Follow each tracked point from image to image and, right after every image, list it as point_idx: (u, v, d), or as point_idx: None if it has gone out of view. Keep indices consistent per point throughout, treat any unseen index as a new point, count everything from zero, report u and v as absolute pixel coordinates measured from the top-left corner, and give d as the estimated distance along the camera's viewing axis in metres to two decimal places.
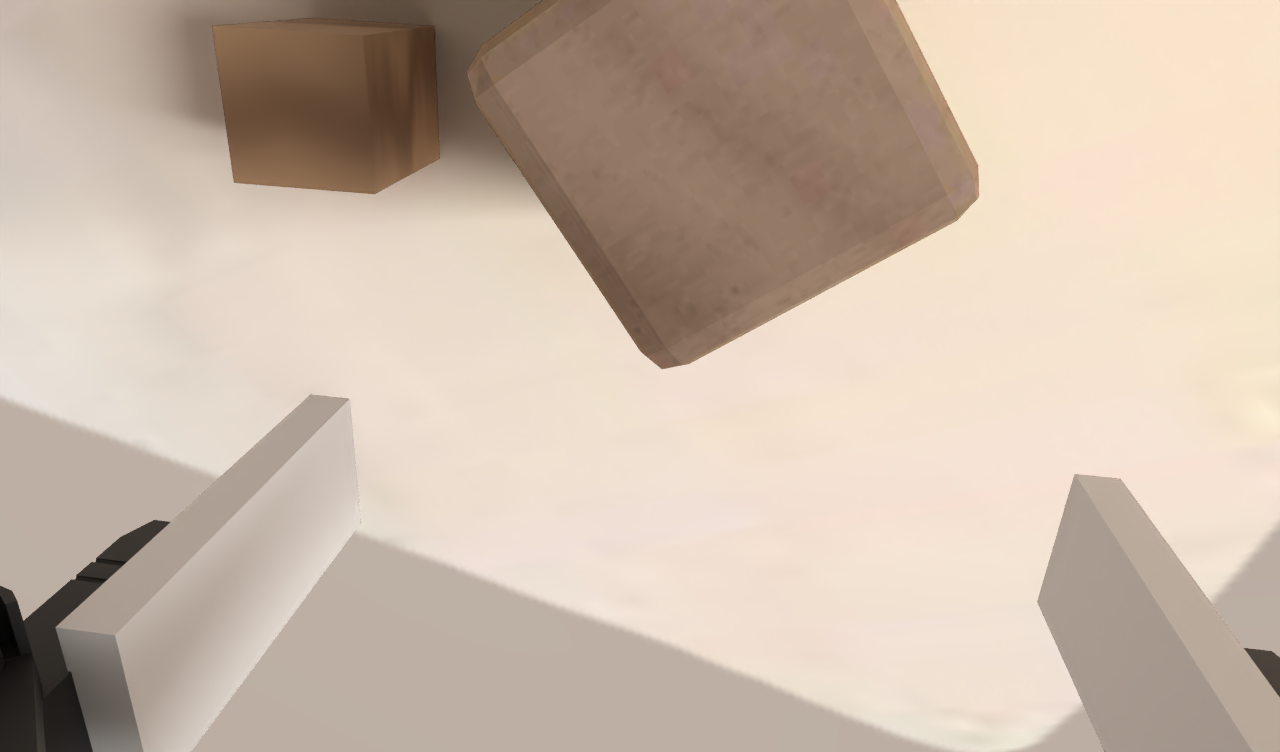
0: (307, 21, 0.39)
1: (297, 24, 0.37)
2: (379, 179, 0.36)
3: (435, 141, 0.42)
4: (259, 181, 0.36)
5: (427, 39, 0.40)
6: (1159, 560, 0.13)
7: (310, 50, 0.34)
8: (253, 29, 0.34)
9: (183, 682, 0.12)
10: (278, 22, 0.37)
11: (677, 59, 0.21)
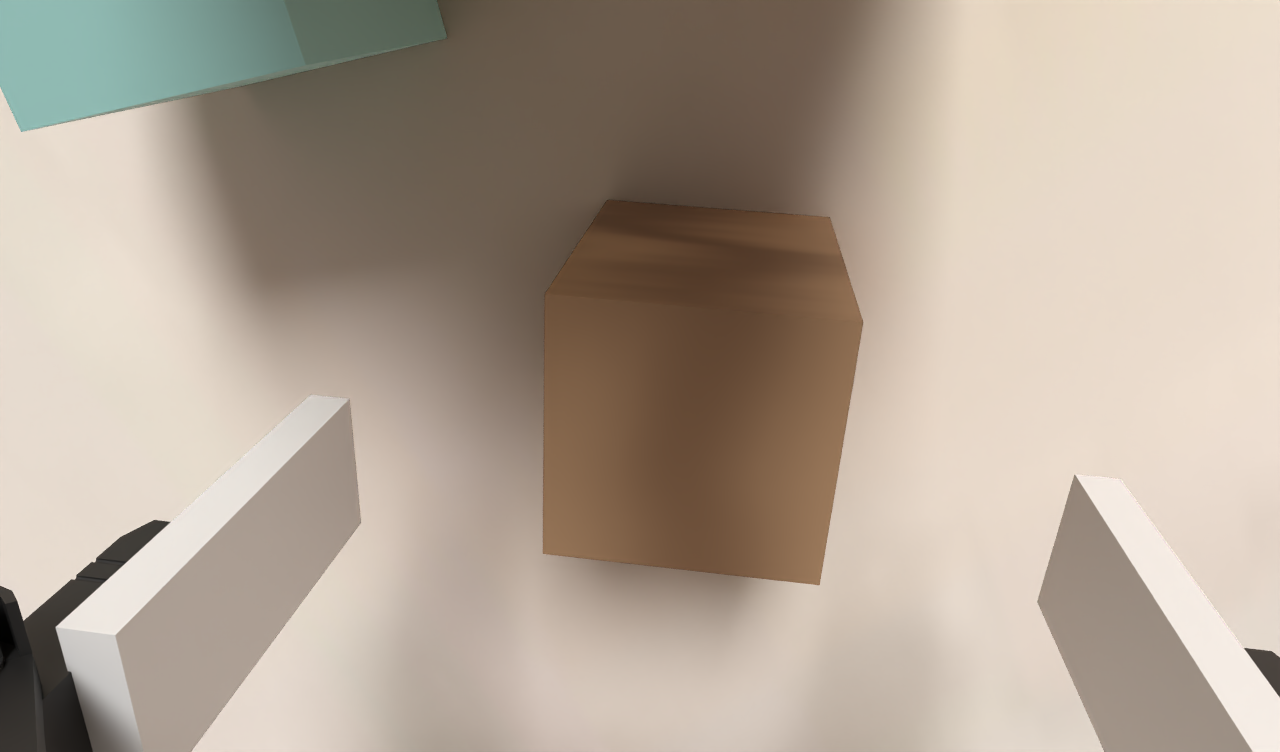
0: None
1: None
2: (834, 309, 0.17)
3: (797, 218, 0.23)
4: (819, 540, 0.18)
5: (622, 209, 0.23)
6: (1159, 560, 0.13)
7: (576, 397, 0.18)
8: (545, 488, 0.19)
9: (183, 682, 0.12)
10: None
11: None
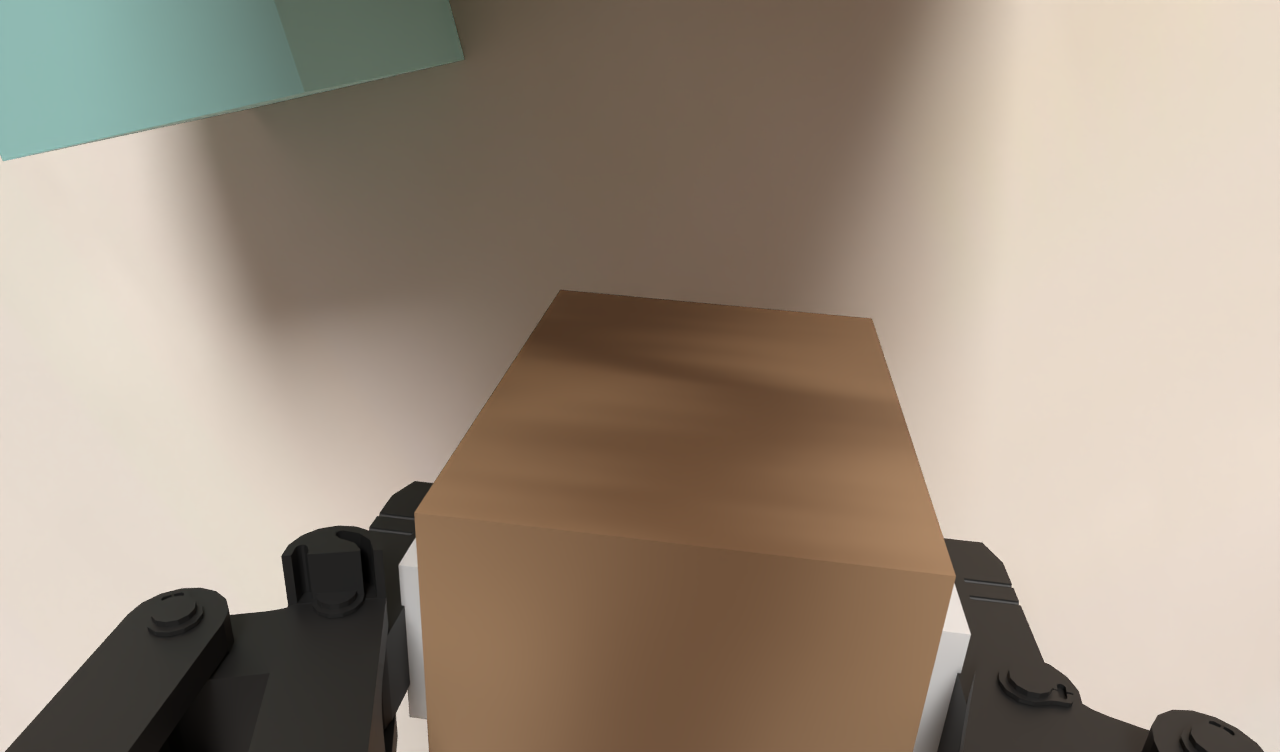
0: None
1: None
2: (903, 540, 0.10)
3: (825, 323, 0.16)
4: None
5: (578, 308, 0.16)
6: None
7: (474, 665, 0.11)
8: None
9: None
10: None
11: None
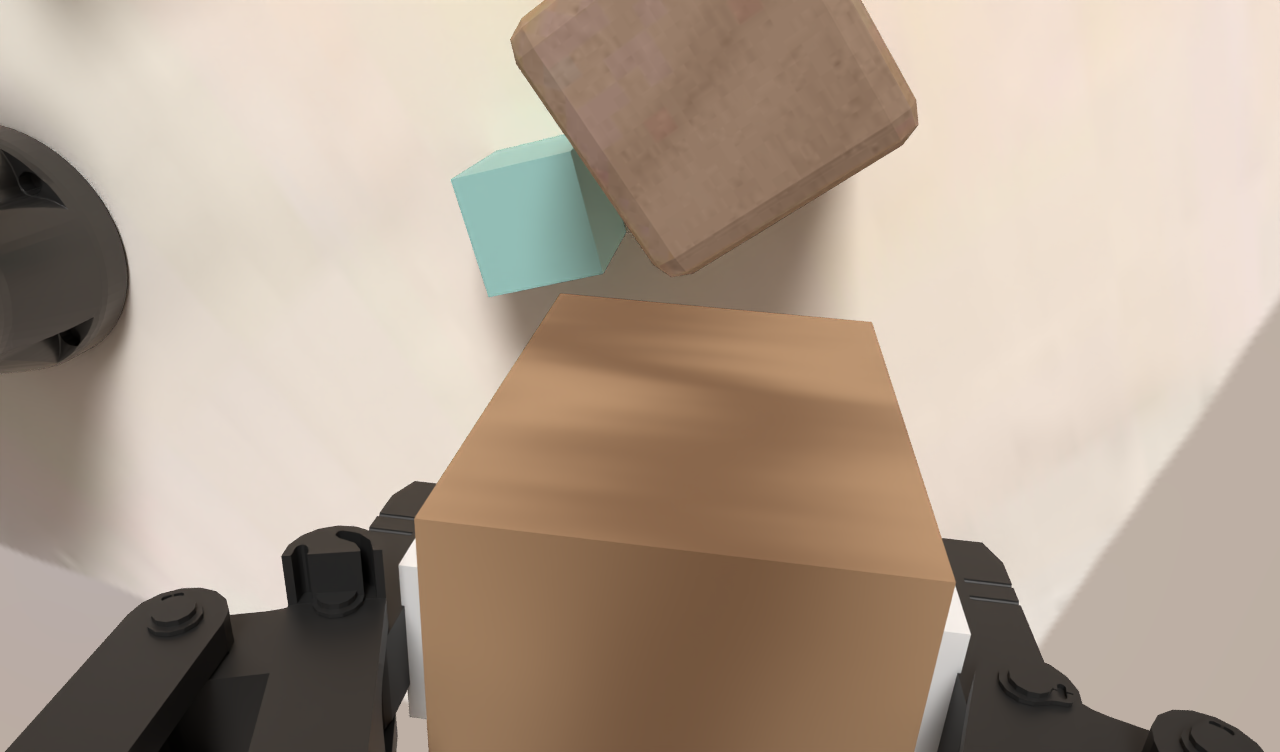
0: None
1: None
2: (903, 546, 0.10)
3: (825, 326, 0.16)
4: None
5: (578, 312, 0.16)
6: None
7: (474, 671, 0.11)
8: None
9: None
10: None
11: (652, 120, 0.28)
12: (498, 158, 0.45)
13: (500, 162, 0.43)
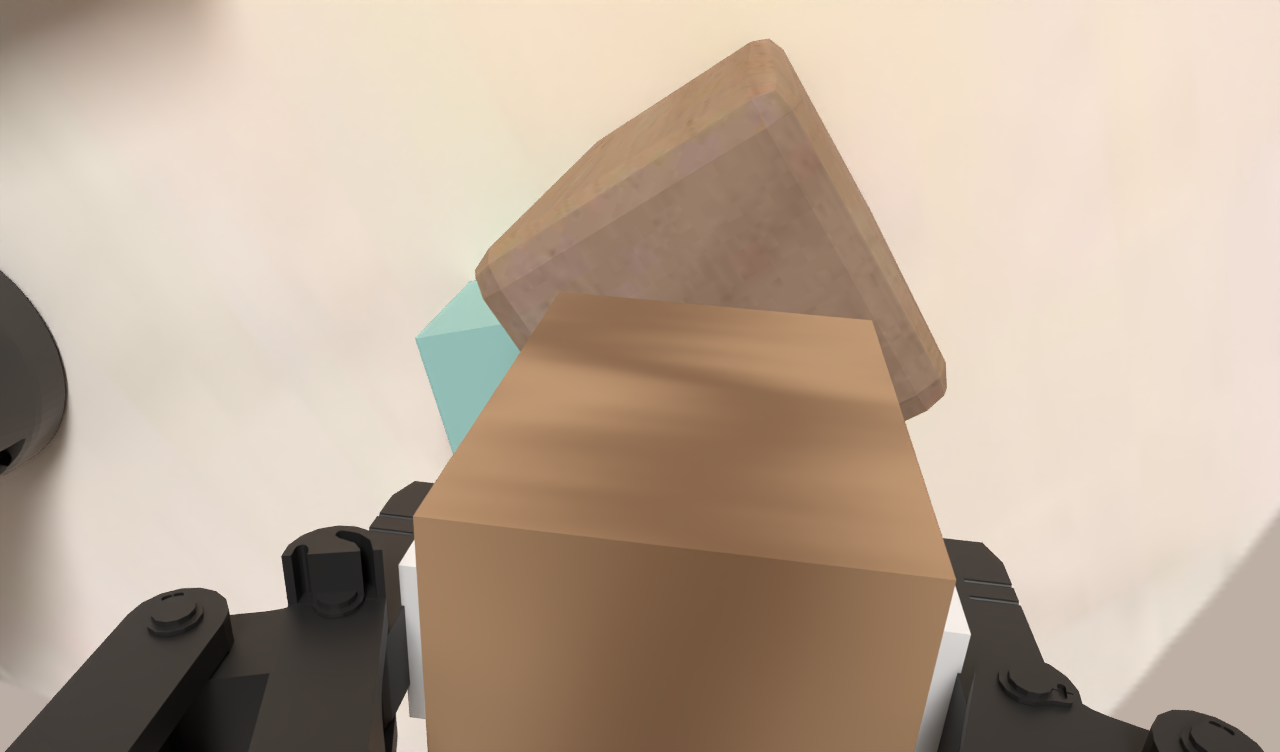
0: None
1: None
2: (903, 543, 0.10)
3: (826, 325, 0.16)
4: None
5: (578, 310, 0.16)
6: None
7: (474, 669, 0.11)
8: None
9: None
10: None
11: None
12: (470, 303, 0.41)
13: (471, 315, 0.39)
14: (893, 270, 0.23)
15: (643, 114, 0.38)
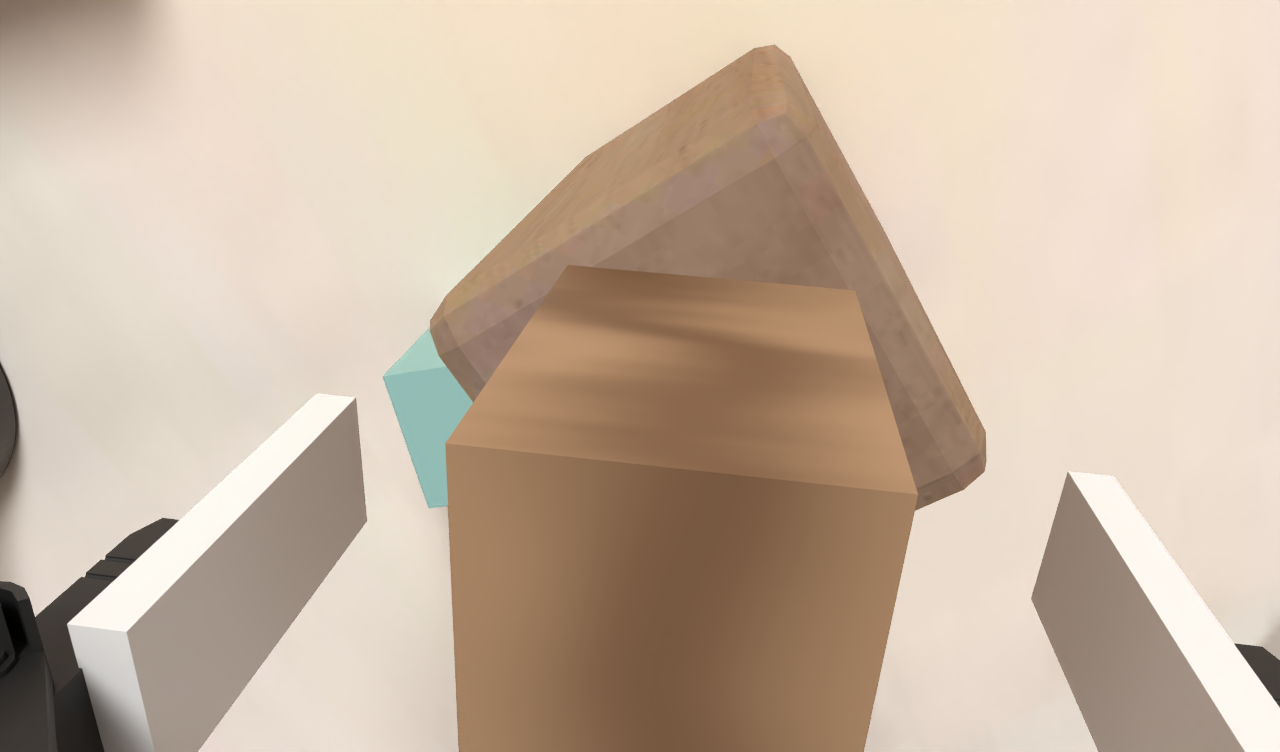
0: None
1: None
2: (873, 467, 0.11)
3: (812, 293, 0.18)
4: None
5: (585, 280, 0.18)
6: (1151, 556, 0.13)
7: (496, 583, 0.12)
8: (459, 698, 0.13)
9: (192, 679, 0.12)
10: None
11: None
12: None
13: None
14: (925, 325, 0.19)
15: (635, 128, 0.34)
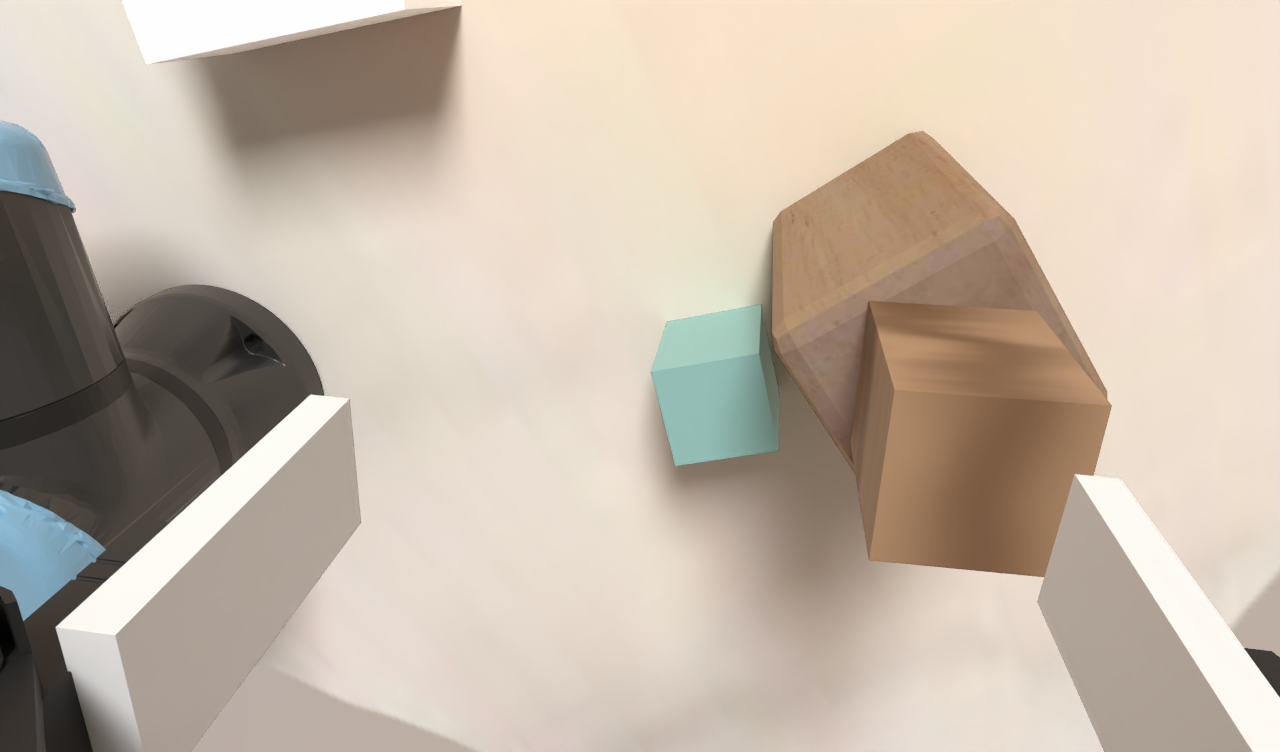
0: (858, 446, 0.33)
1: (865, 460, 0.31)
2: (1087, 395, 0.26)
3: (1014, 313, 0.32)
4: None
5: (886, 310, 0.32)
6: (1159, 560, 0.13)
7: (907, 455, 0.27)
8: (876, 516, 0.28)
9: (183, 682, 0.12)
10: (860, 480, 0.32)
11: None
12: (680, 341, 0.52)
13: (688, 351, 0.50)
14: (1073, 330, 0.33)
15: (826, 193, 0.48)
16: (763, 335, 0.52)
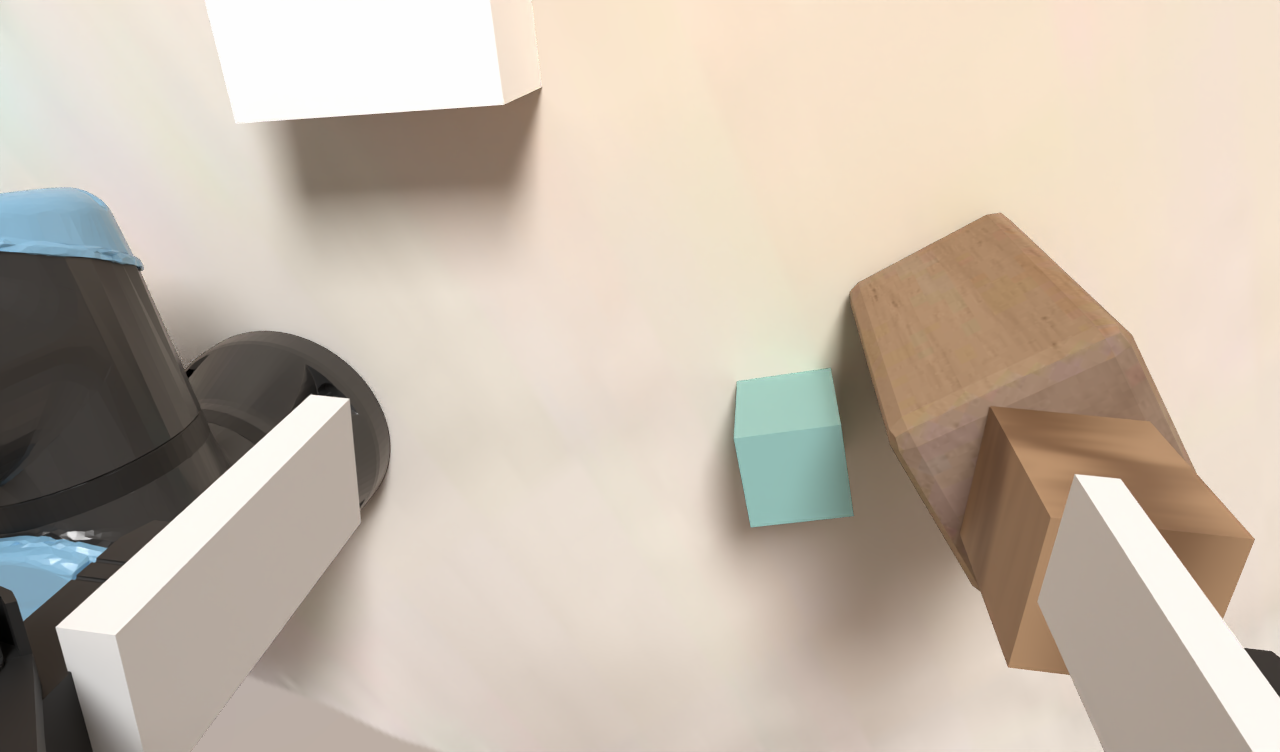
0: (977, 545, 0.35)
1: (994, 564, 0.32)
2: (1229, 526, 0.27)
3: (1130, 424, 0.34)
4: None
5: (1010, 418, 0.34)
6: (1159, 560, 0.13)
7: None
8: (1020, 628, 0.29)
9: (183, 683, 0.12)
10: (985, 581, 0.33)
11: None
12: (756, 405, 0.54)
13: (767, 417, 0.52)
14: (1179, 437, 0.35)
15: (906, 270, 0.50)
16: None
